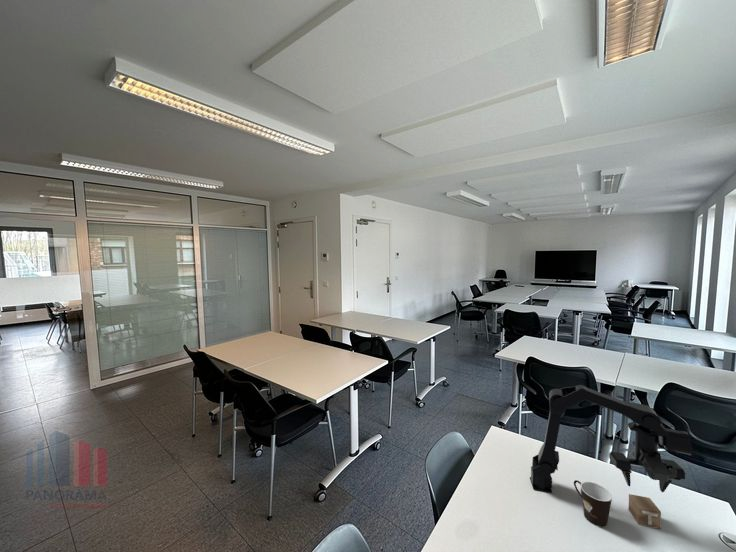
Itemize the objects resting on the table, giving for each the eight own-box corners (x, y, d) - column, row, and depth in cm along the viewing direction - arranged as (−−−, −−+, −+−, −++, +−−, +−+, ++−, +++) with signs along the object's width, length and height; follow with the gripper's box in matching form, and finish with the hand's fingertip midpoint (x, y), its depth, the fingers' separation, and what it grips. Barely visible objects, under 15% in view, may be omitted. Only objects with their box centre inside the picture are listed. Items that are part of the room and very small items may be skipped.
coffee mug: (617, 532, 96) (618, 503, 95) (588, 527, 98) (588, 499, 97) (597, 503, 107) (597, 477, 107) (571, 500, 109) (571, 474, 109)
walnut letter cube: (638, 525, 98) (639, 508, 98) (628, 510, 104) (628, 494, 104) (661, 529, 96) (661, 512, 96) (649, 514, 102) (649, 497, 102)
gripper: (625, 454, 94) (624, 500, 95) (700, 465, 89) (698, 514, 89) (608, 434, 105) (607, 476, 106) (674, 443, 99) (673, 487, 100)
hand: (644, 488), depth 100 cm, fingers open, 9 cm apart
